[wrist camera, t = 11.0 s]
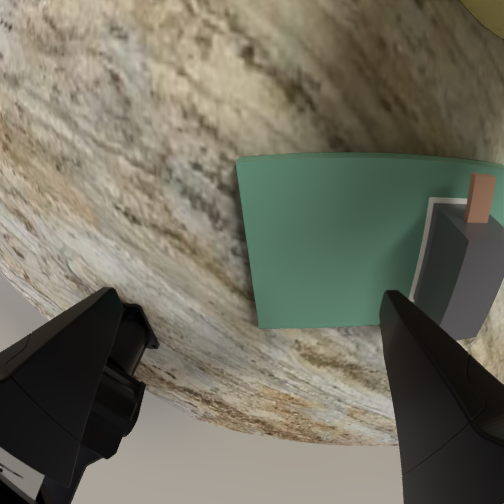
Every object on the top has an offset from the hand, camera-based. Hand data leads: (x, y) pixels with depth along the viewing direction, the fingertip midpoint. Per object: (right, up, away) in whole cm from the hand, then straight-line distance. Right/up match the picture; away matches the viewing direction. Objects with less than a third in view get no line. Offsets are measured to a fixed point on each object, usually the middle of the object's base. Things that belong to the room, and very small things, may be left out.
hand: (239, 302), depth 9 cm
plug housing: (+15, +3, +8) cm, 17 cm away
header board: (+11, +2, +11) cm, 16 cm away
